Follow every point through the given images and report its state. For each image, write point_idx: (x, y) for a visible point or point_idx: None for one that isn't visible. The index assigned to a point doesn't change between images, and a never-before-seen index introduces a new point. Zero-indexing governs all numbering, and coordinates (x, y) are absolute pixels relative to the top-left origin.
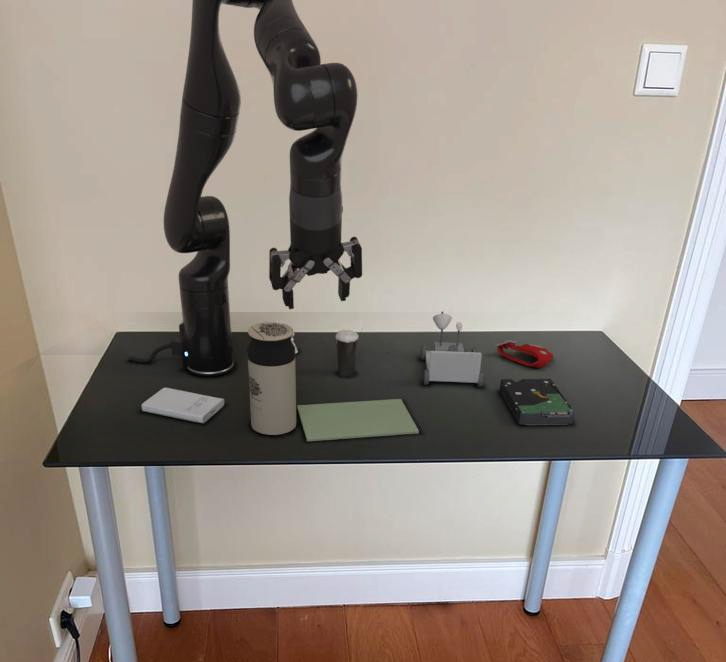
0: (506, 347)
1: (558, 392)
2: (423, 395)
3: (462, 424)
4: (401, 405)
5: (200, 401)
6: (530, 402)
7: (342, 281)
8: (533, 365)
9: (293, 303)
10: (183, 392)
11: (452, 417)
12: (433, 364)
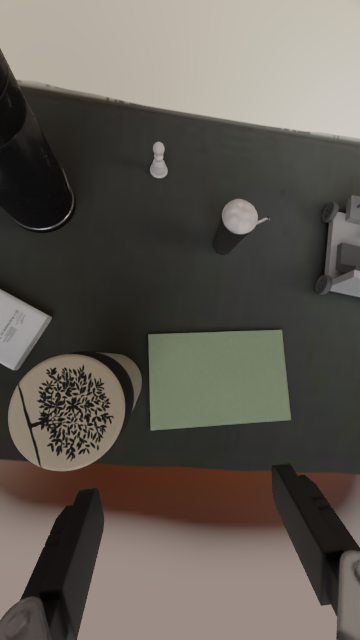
0: None
1: None
2: (309, 317)
3: (343, 399)
4: (279, 348)
5: (13, 322)
6: None
7: (327, 593)
8: None
9: (96, 555)
10: None
11: (334, 380)
12: (344, 283)
